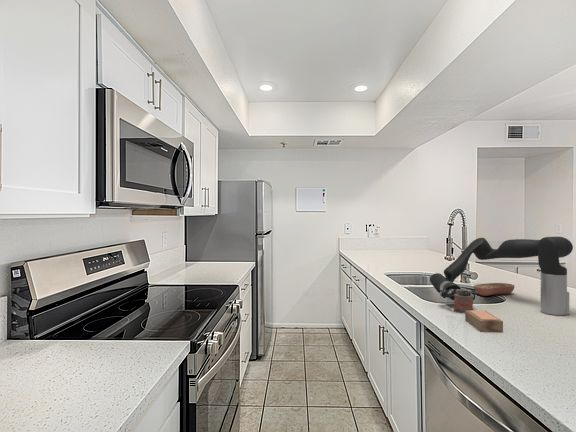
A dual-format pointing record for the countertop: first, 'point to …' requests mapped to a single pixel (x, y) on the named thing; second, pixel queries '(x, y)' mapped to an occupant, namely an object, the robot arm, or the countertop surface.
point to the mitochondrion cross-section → (493, 289)
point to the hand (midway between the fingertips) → (463, 298)
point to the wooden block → (484, 321)
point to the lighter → (463, 300)
